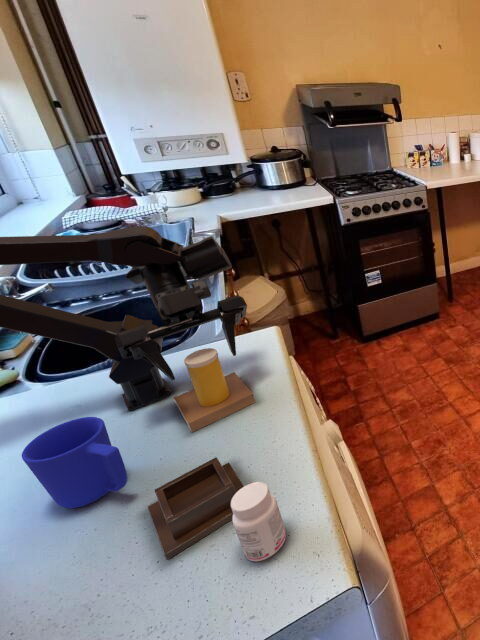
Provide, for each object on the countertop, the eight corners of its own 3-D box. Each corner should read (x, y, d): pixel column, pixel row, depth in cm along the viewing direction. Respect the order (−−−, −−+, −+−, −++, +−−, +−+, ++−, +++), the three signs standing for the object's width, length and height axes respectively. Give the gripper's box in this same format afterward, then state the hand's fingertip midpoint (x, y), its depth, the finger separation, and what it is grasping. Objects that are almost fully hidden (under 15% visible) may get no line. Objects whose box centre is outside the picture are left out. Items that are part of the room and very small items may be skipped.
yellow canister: (195, 398, 79) (180, 356, 75) (225, 385, 82) (212, 345, 79) (203, 410, 76) (188, 367, 72) (233, 397, 79) (220, 355, 76)
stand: (149, 511, 60) (140, 490, 59) (230, 466, 67) (223, 446, 65) (167, 560, 54) (156, 538, 52) (254, 505, 61) (247, 484, 59)
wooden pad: (176, 406, 80) (173, 397, 79) (237, 380, 87) (234, 371, 86) (191, 432, 74) (188, 423, 73) (255, 402, 81) (252, 393, 80)
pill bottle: (276, 519, 59) (262, 472, 55) (293, 540, 56) (279, 492, 53) (238, 546, 55) (220, 498, 52) (253, 571, 52) (236, 521, 49)
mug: (105, 526, 58) (76, 470, 54) (36, 511, 60) (3, 456, 57) (162, 476, 66) (140, 423, 62) (99, 464, 68) (74, 412, 64)
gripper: (93, 289, 66) (132, 379, 64) (230, 254, 79) (267, 327, 76) (105, 318, 74) (139, 398, 71) (227, 282, 87) (261, 349, 84)
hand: (205, 366), depth 76 cm, fingers open, 9 cm apart
